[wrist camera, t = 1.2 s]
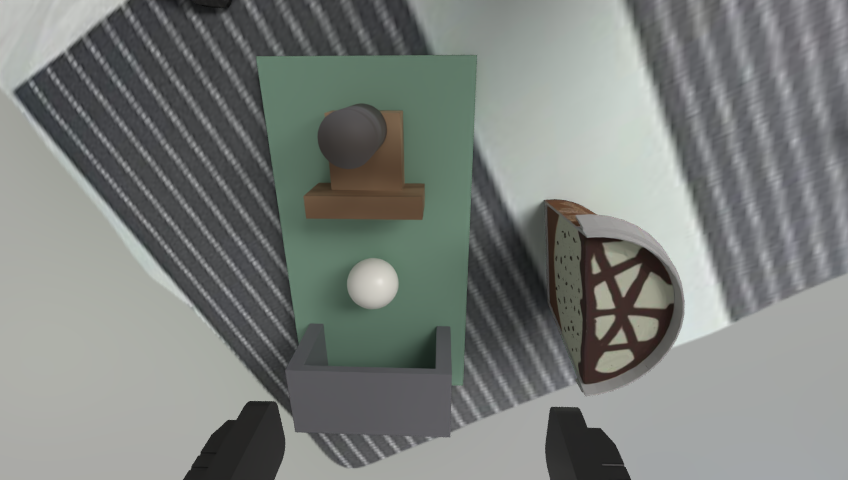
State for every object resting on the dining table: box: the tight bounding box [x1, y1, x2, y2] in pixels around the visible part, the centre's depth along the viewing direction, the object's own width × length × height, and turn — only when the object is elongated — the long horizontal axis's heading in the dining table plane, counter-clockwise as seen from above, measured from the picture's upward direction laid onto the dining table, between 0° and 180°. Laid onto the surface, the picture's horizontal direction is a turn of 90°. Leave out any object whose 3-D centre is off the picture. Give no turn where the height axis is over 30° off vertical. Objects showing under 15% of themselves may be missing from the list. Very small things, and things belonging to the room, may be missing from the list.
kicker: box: [303, 103, 425, 220], centre depth 26 cm, size 7×8×7 cm
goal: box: [285, 323, 452, 437], centre depth 34 cm, size 6×12×6 cm, turn 90°
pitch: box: [256, 55, 477, 386], centre depth 33 cm, size 28×15×1 cm, turn 0°
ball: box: [347, 258, 399, 309], centre depth 31 cm, size 4×4×4 cm
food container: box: [544, 199, 684, 396], centre depth 28 cm, size 12×6×10 cm, turn 8°
